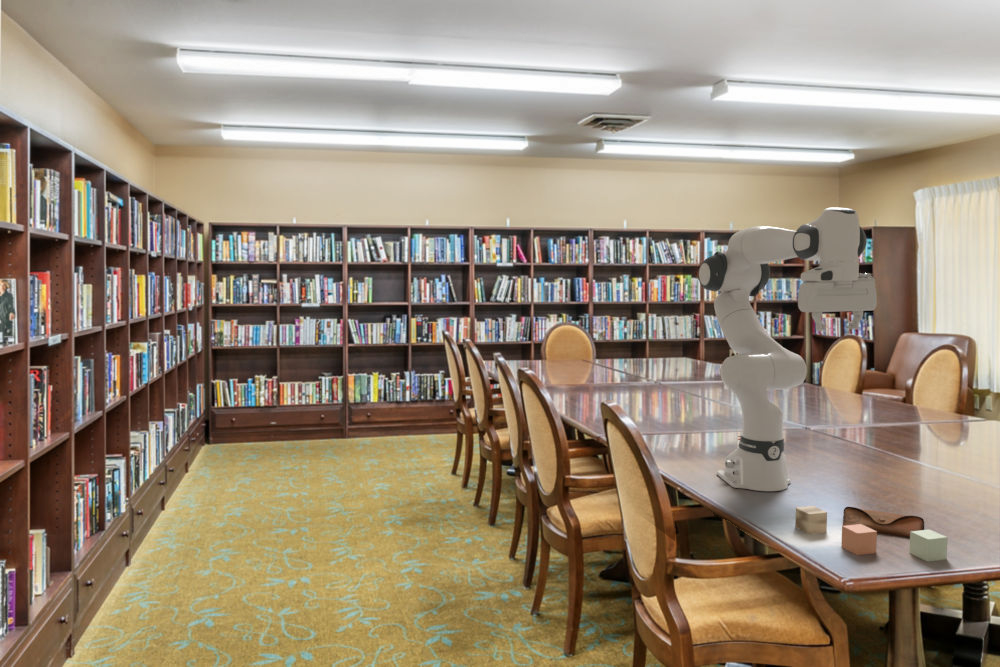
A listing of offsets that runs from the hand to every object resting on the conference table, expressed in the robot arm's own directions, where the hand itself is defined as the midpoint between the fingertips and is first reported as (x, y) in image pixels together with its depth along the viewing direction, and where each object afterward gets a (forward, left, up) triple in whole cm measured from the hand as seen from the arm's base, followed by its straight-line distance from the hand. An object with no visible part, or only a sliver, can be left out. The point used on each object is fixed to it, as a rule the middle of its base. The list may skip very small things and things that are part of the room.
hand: (837, 329), depth 183 cm
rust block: (+19, -8, -48) cm, 52 cm away
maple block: (+5, -10, -48) cm, 49 cm away
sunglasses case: (+9, +7, -49) cm, 50 cm away
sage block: (+26, +4, -48) cm, 55 cm away
